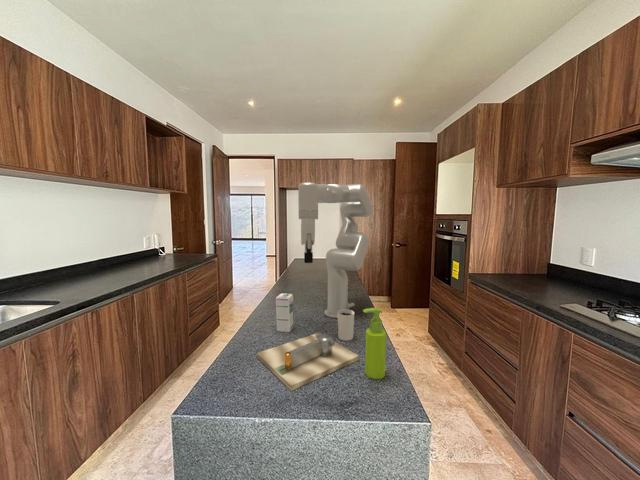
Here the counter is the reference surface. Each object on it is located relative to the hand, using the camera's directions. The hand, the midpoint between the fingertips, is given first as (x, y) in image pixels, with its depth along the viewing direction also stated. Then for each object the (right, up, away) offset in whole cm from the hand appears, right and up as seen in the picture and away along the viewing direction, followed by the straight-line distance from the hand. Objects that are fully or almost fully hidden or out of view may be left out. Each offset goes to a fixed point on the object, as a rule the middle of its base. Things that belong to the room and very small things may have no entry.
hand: (308, 262), depth 106 cm
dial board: (0, -31, -16) cm, 35 cm away
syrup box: (-10, -29, +8) cm, 31 cm away
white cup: (+15, -29, 0) cm, 33 cm away
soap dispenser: (+21, -32, -24) cm, 45 cm away
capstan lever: (+1, -29, -20) cm, 35 cm away
